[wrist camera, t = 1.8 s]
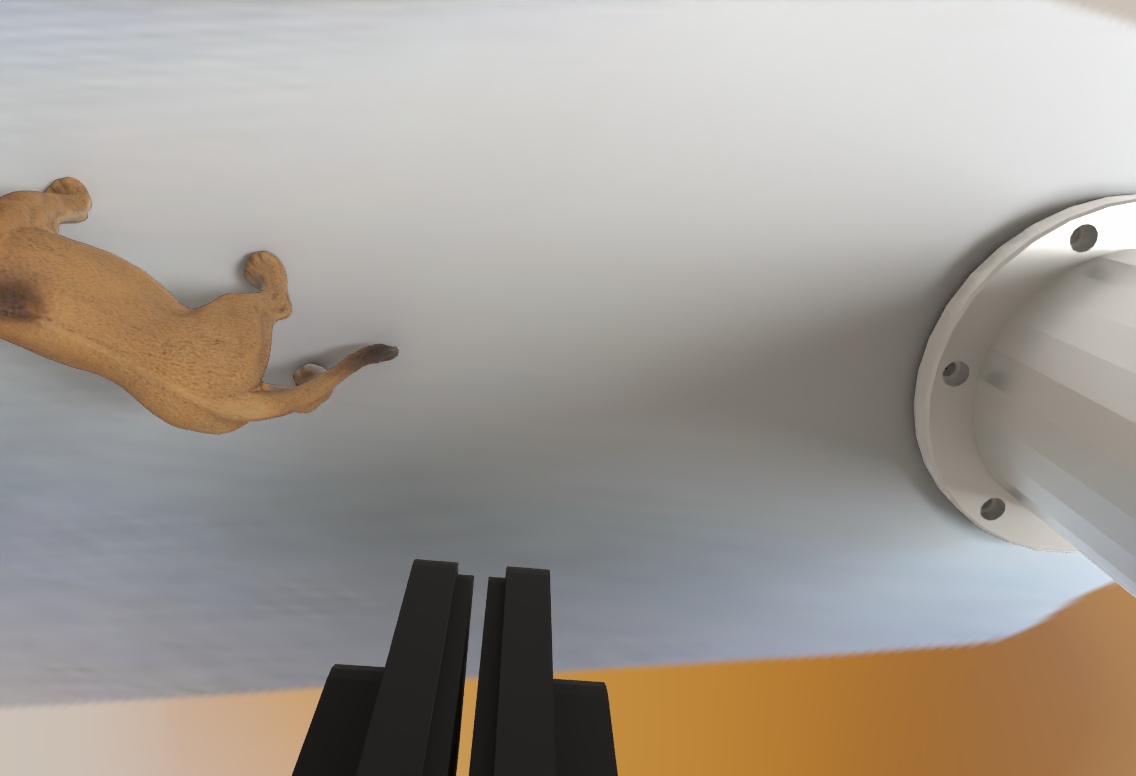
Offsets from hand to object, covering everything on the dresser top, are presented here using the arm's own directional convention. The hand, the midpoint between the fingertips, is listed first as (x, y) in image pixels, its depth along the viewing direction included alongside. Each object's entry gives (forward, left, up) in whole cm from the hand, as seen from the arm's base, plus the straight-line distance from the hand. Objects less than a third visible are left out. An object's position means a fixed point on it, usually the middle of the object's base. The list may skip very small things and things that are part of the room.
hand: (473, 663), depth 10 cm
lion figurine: (+11, 0, -17) cm, 21 cm away
